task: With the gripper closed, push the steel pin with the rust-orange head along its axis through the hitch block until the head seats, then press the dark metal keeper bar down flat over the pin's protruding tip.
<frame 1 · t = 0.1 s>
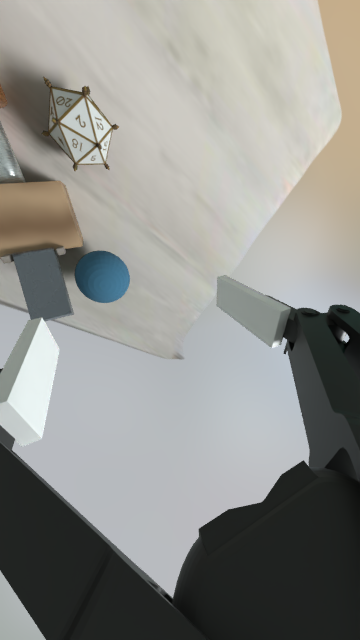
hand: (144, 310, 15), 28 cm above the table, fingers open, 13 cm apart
keeper: (44, 284, 26), point 11 cm above the table, hinge at 35.0°
hitch block: (34, 218, 30), on the table
game die: (82, 139, 28), on the table
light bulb: (101, 265, 38), on the table
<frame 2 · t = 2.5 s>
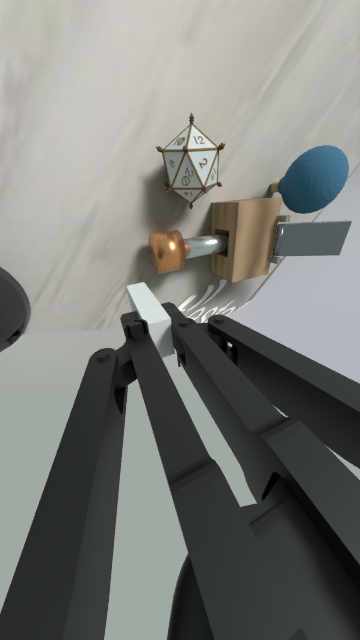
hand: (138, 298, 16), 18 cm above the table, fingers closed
pin: (200, 246, 32), point 4 cm above the table, slide at -8.0 cm
keeper: (307, 239, 30), point 11 cm above the table, hinge at 35.0°
hitch block: (228, 237, 37), on the table
game die: (179, 172, 29), on the table
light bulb: (272, 186, 35), on the table
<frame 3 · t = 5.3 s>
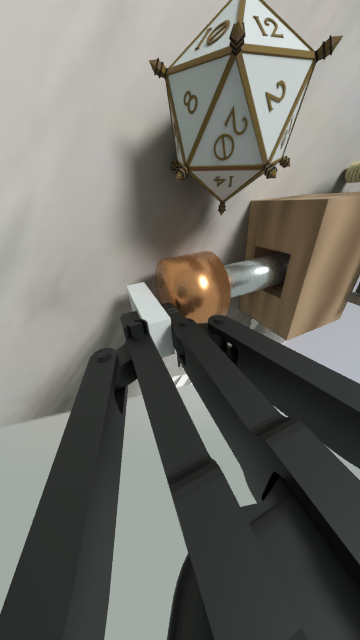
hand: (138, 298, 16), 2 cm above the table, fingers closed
pin: (246, 277, 18), point 4 cm above the table, slide at -6.4 cm, touching gripper
hitch block: (271, 256, 23), on the table
game die: (197, 140, 14), on the table
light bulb: (344, 173, 21), on the table
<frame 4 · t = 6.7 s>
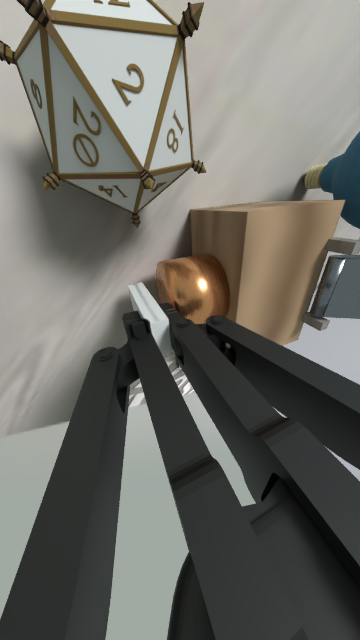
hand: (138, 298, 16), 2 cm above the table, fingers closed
pin: (247, 279, 18), point 3 cm above the table, slide at 0.1 cm, touching gripper, hitch block
hitch block: (225, 269, 21), on the table
game die: (110, 142, 12), on the table
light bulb: (305, 178, 19), on the table
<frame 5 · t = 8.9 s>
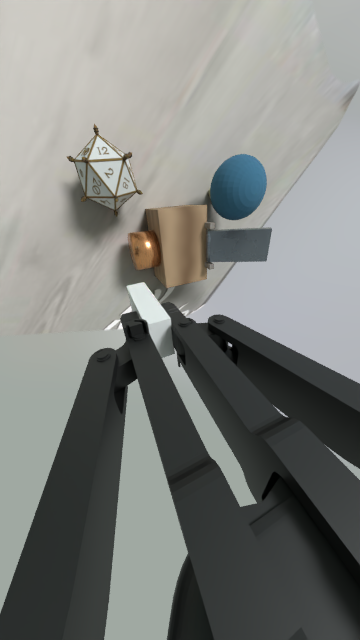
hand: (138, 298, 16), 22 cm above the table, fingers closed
pin: (176, 245, 34), point 3 cm above the table, slide at 0.0 cm
keeper: (236, 245, 31), point 11 cm above the table, hinge at 35.0°
hitch block: (170, 242, 37), on the table
game die: (105, 180, 29), on the table
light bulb: (210, 192, 36), on the table
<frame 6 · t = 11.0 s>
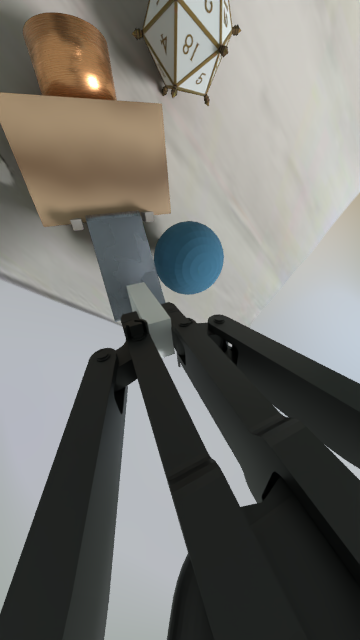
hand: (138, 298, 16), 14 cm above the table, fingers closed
pin: (98, 172, 19), point 3 cm above the table, slide at 0.0 cm
keeper: (127, 264, 18), point 11 cm above the table, hinge at 34.4°, touching gripper
hitch block: (97, 176, 22), on the table
game die: (171, 60, 20), on the table
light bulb: (166, 248, 29), on the table
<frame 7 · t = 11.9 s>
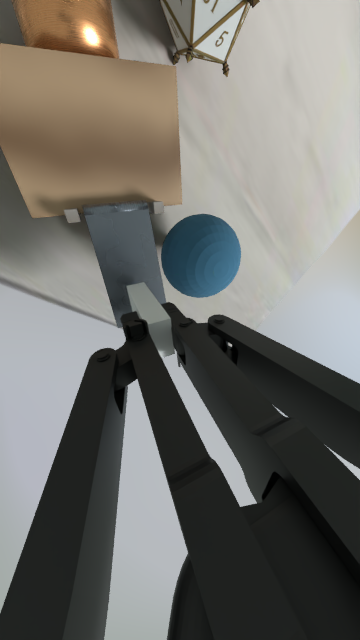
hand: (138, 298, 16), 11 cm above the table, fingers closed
pin: (98, 153, 16), point 4 cm above the table, slide at 0.0 cm
keeper: (130, 266, 16), point 9 cm above the table, hinge at 14.9°, touching gripper
hitch block: (96, 161, 19), on the table
game die: (184, 20, 17), on the table
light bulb: (173, 244, 27), on the table
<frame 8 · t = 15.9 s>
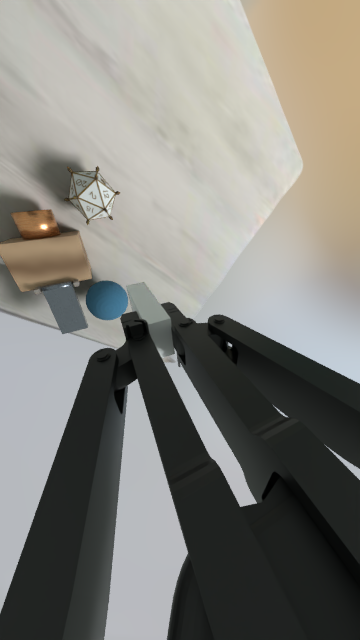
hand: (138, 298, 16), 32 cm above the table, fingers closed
pin: (52, 258, 37), point 3 cm above the table, slide at 0.0 cm
keeper: (66, 307, 37), point 9 cm above the table, hinge at 6.8°
hitch block: (54, 255, 39), on the table
game die: (92, 197, 37), on the table
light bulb: (105, 287, 47), on the table
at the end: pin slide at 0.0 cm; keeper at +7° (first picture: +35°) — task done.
